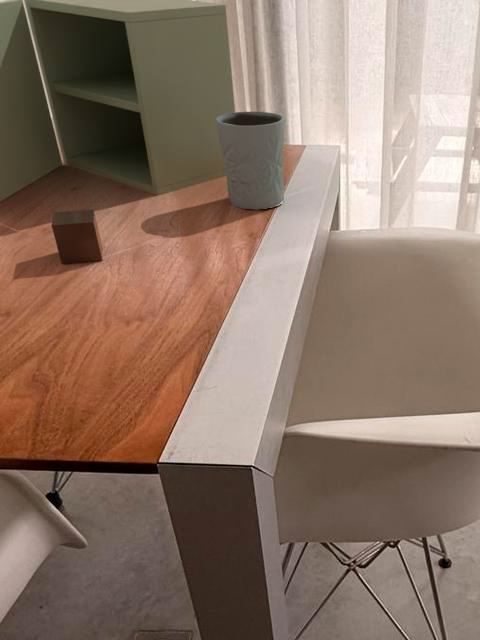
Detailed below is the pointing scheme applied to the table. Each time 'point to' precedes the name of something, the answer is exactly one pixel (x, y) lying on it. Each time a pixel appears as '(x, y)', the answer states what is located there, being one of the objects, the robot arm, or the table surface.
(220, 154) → the cupboard
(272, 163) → the grey green cup
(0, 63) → the cupboard door
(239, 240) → the table surface
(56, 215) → the walnut block
